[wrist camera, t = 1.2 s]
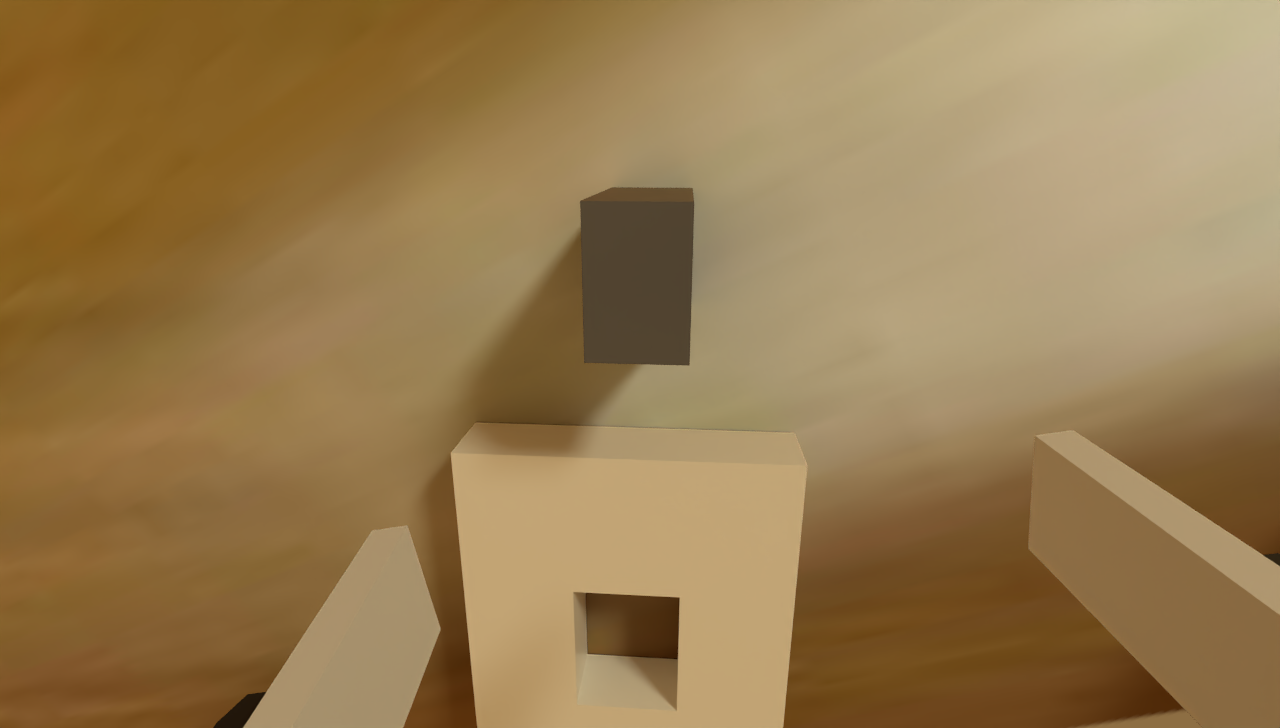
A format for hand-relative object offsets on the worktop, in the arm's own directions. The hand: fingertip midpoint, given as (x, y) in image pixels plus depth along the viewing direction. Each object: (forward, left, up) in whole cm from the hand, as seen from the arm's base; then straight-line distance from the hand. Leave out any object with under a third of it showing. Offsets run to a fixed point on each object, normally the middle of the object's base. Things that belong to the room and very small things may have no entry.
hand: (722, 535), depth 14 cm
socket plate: (+4, +17, -21) cm, 27 cm away
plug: (+3, -3, -21) cm, 22 cm away
